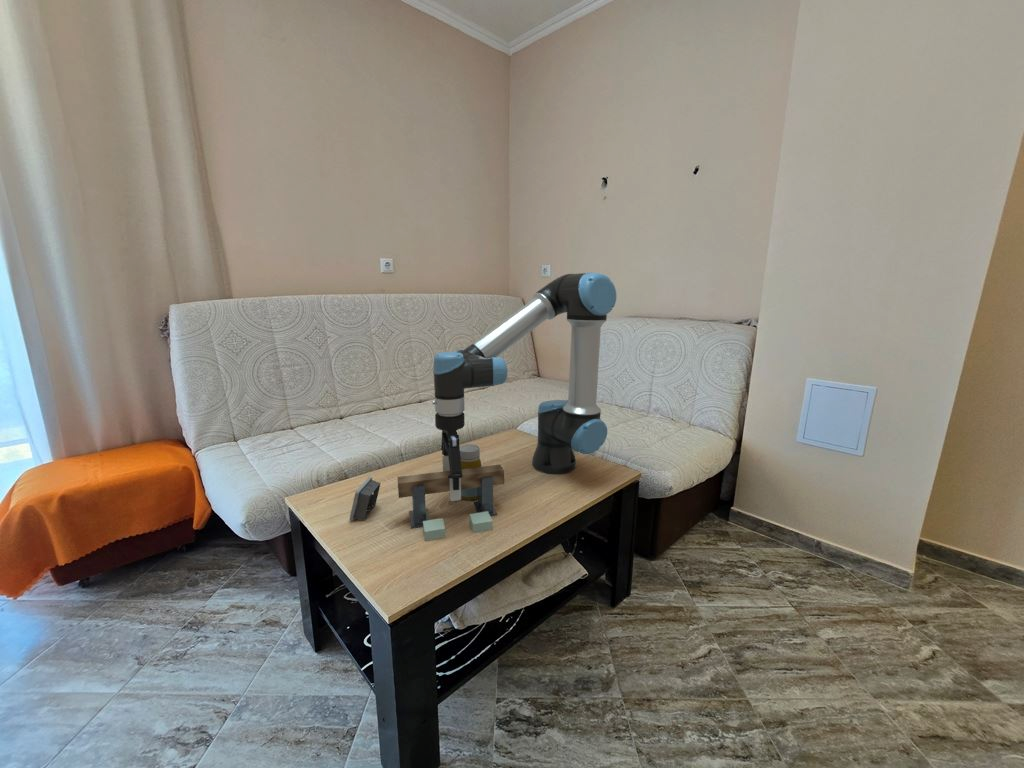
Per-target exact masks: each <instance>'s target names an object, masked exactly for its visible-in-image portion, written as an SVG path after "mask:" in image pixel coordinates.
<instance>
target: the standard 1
mask: <svg viewBox="0 0 1024 768" xmlns="http://www.w3.org/2000/svg"><path fill="white" fill-rule="evenodd" d="M412 489H413V496H411V499H412V500H411V502H412V510H409V511H408V514H409V525H410V530H411V529H418V528H423V521H427V520H431V519H430V514H429V509H428V508H427V507H426V494H425V486H424V485H419V486H412Z"/></svg>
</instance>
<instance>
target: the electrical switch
mask: <svg viewBox="0 0 1024 768" xmlns="http://www.w3.org/2000/svg"><path fill="white" fill-rule="evenodd" d="M380 486H381V482H378V481H376V480H373V477H372V476H368V477H367V478H366V479H365V481H364V482H362V484H361V485H360V486H359V487H358V488H357V489H356V490H355V494H354V496H353V503H352V505H351V510H350V514H349V521H351V522H354V520H358V521H362V522H365V520H366V519H367V518H368V516H369V515H370V514H371V512H372V511H373V510H374V509H375V507H376V505H377V500H378V495H379V493H380V488H381V487H380Z"/></svg>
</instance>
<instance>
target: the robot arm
mask: <svg viewBox="0 0 1024 768" xmlns="http://www.w3.org/2000/svg"><path fill="white" fill-rule="evenodd" d="M616 303H617V290H616V286H615V284H614V282H613V280H611V278H610V277H608V276H607V275H606V274H603V273H600V272H583V273H581V272H580V273H567V274H564V275H561V276H559V277H556V278H554V279H553V280H552V281H550V282H549V283H547V284H546V285H545V286H543V287H542V288H540V289H539V290H538V291H536V292H535V293H534V294H533V295H532V299H531V300H530V301H529V302H527V303H526V304H524V305H523V306H521V308H519V309H517V311H515V312H513V313H512V314H511V315H510V316H508V317H507V318H505V319H504V320H503V321H501V322H500V323H499V324H497V325H496V326H494V327H493V328H492V329H491V330H488V332H486V333H485V334H484V335H482V336H481V337H480V338H478V339H477V340H476V341H474V342H472V344H470V345H468V346H467V347H466V348H464V349H457V350H455V351H442V352H439V353H437V354H435V355H434V356H433V357H434V358H433V371H432V374H433V385H434V386H433V387H434V389H433V390H434V400H433V401H432V402H431V403H432V405H434V412H435V414H434V418H435V419H434V420H435V428H436V429H437V430H440V431H442V432H441V444H440V445H441V446H440V447H441V448H440V449H441V454H442V455H441V456H442V459H441V461H442V472H443V471H450V475H448V479H449V478H450V491H449V501H450V502H454V501H461V500H462V498H461V478H462V476H463V475H462V468H461V457H460V446H461V445H460V441H461V440H460V436H459V434H458V430H461V429H463V428H464V427H465V423H466V422H465V413H464V411H465V389H472V388H473V389H474V388H484V387H495V386H497V385H498V386H499V385H503V384H504V383H505V382H506V381H507V378H508V366H507V364H506V363H507V362H506V361H505V360H504V359H503V358H502V357H498V356H501V354H502V353H505V352H506V351H507V350H508V349H510V347H512V346H513V345H514V344H516V343H517V342H519V341H520V340H521V339H523V338H524V337H525V336H526V335H528V334H529V333H530V332H531V331H533V330H535V329H536V328H537V327H538V326H540V325H541V324H542V323H543V322H544V321H546V320H553V319H555V318H556V317H557V316H559V315H561V314H566V321H567V322H568V323H569V324H570V326H571V333H570V351H569V352H570V353H569V354H570V355H569V356H570V359H569V372H568V373H569V375H568V376H569V378H568V395H567V396H568V397H567V398H568V399H567V400H565V399H553V400H551V399H550V400H546V401H542V402H540V403H539V404H538V411H537V445H536V447H535V450H534V453H533V456H532V461H531V462H532V467H533V468H534V469H535V470H537V471H539V472H541V473H545V474H552V475H555V474H556V475H558V474H559V475H560V474H566V473H570V472H572V471H574V470H575V469H576V466H577V465H576V463H577V459H576V455H575V452H576V453H579V454H583V455H590V454H591V455H592V454H593V453H595V452H597V451H598V450H599V449H600V448H601V447H602V446H603V445H604V444H605V441H606V439H607V436H608V426H607V425H606V424H605V422H604V421H603V420H602V419H601V415H602V414H601V412H602V411H601V408H600V407H599V406H598V404H597V396H598V395H597V394H598V379H599V365H600V364H599V361H600V347H601V331H602V329H601V328H602V326H603V324H604V323H606V322H607V316H608V314H610V312H612V310H613V308H614V307H615V306H616Z"/></svg>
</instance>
